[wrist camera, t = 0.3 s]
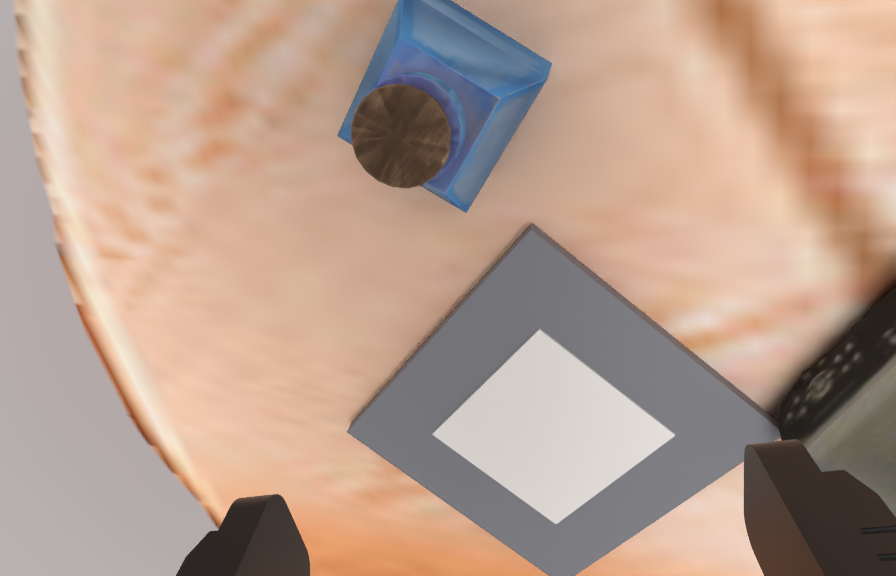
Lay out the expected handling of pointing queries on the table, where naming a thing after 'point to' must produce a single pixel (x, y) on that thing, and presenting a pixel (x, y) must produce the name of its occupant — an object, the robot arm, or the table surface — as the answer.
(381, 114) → the perfume bottle
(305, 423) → the table surface
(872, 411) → the network switch
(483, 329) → the mat
